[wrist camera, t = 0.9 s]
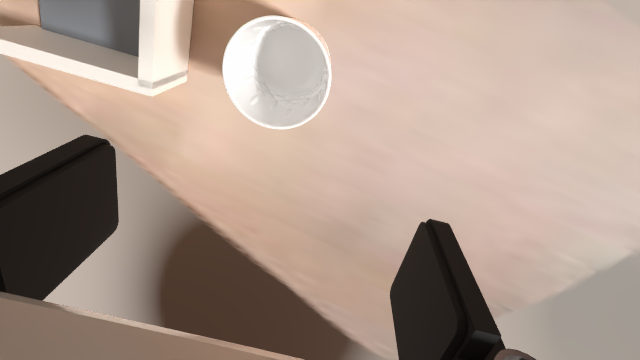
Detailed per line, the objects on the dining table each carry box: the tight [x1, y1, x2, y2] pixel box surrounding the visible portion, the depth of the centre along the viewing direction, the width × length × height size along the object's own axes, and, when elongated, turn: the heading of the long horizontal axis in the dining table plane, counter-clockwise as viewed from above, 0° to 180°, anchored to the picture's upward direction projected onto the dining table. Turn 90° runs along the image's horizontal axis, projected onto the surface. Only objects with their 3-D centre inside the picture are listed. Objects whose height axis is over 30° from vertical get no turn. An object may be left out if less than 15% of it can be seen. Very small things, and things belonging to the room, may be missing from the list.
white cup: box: [222, 15, 331, 129], centre depth 29 cm, size 8×8×10 cm
